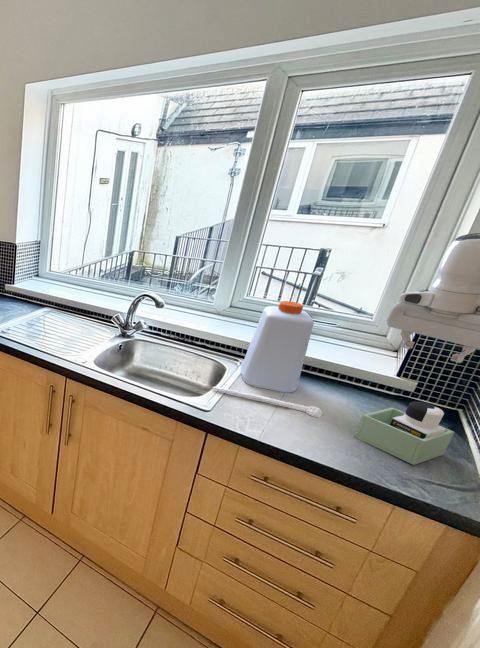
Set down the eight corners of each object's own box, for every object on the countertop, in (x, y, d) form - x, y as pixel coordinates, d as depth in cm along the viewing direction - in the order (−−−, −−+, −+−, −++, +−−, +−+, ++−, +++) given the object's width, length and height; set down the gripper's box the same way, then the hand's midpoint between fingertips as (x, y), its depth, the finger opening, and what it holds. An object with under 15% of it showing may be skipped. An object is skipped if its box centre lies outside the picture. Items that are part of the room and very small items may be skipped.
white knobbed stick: (211, 393, 134) (213, 386, 133) (211, 388, 137) (214, 380, 136) (321, 420, 120) (324, 412, 119) (319, 414, 124) (322, 405, 122)
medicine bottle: (381, 440, 110) (400, 400, 105) (400, 435, 111) (419, 396, 107) (414, 457, 103) (436, 416, 99) (434, 452, 105) (456, 411, 100)
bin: (443, 454, 106) (454, 431, 103) (413, 465, 102) (424, 441, 99) (383, 428, 117) (392, 407, 114) (353, 436, 113) (362, 414, 110)
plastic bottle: (297, 397, 134) (328, 314, 123) (243, 386, 140) (267, 307, 129) (288, 376, 146) (315, 300, 135) (238, 367, 152) (260, 294, 141)
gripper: (524, 312, 93) (496, 369, 97) (407, 290, 111) (389, 339, 115) (509, 315, 91) (482, 372, 95) (393, 292, 109) (374, 342, 113)
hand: (430, 354), depth 106 cm, fingers open, 8 cm apart
